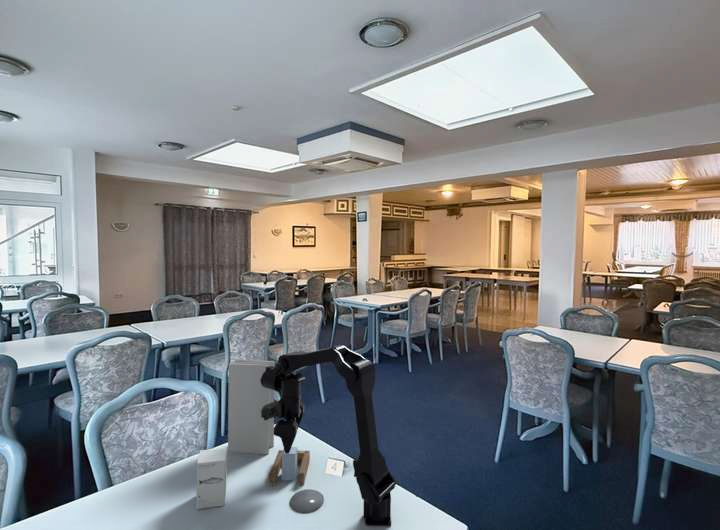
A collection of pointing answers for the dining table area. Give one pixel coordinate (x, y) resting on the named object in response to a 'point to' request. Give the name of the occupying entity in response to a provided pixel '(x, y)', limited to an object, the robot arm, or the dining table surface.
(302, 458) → the frame
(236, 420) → the tall grey box
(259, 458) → the dining table surface
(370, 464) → the robot arm
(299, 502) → the coaster
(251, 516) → the dining table surface
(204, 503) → the supplement box
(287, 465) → the block
